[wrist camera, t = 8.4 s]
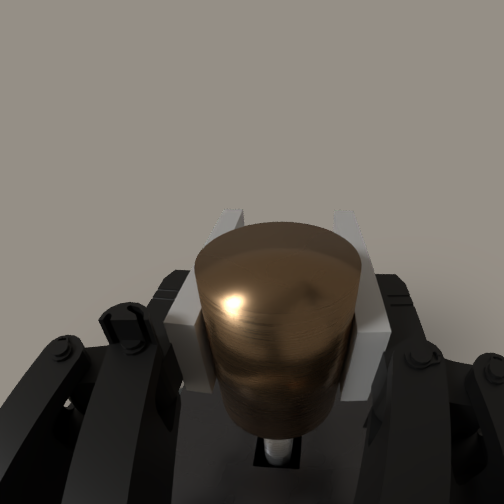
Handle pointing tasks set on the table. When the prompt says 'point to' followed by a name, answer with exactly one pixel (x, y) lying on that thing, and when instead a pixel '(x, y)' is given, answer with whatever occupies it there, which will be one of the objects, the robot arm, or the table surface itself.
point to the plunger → (278, 326)
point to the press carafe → (253, 455)
